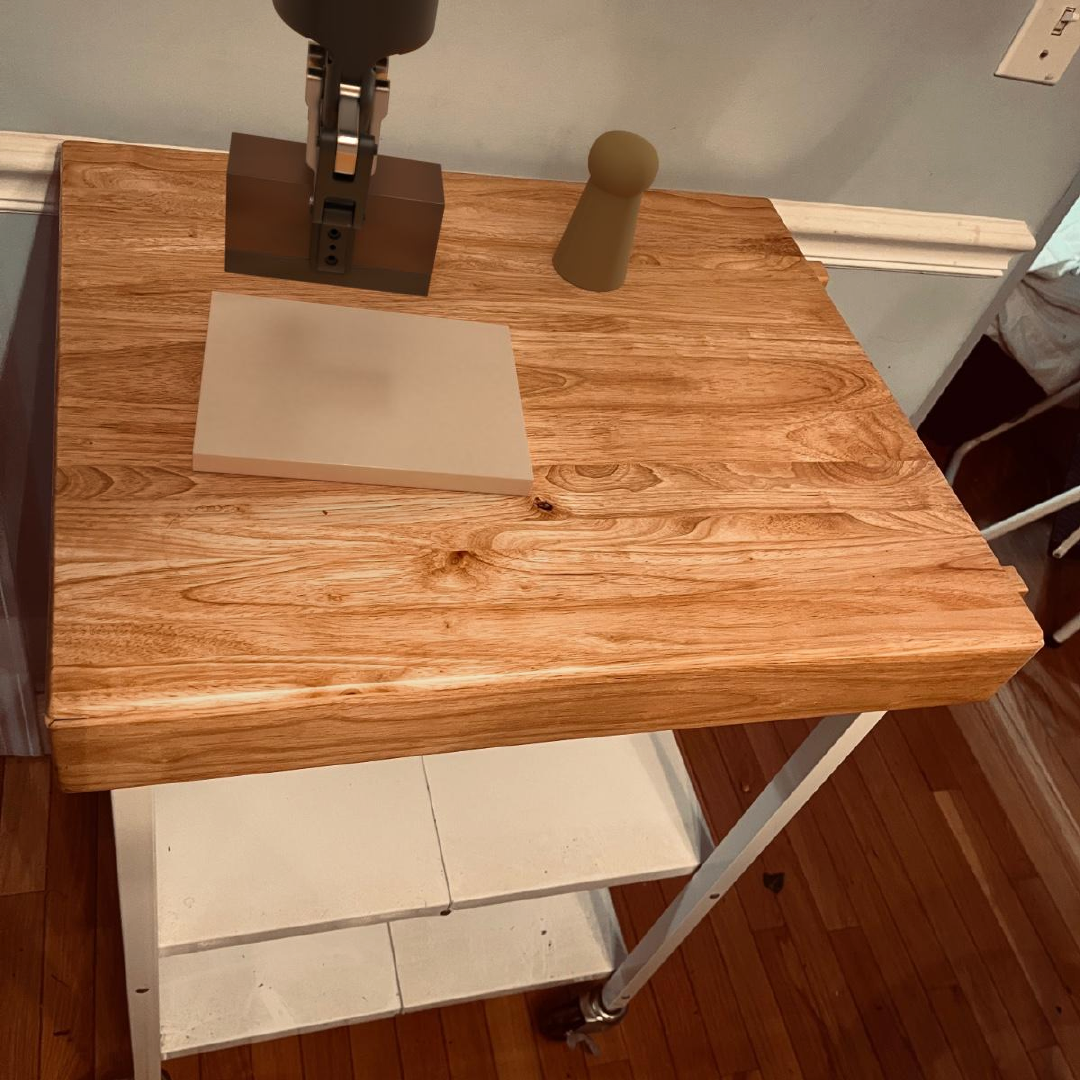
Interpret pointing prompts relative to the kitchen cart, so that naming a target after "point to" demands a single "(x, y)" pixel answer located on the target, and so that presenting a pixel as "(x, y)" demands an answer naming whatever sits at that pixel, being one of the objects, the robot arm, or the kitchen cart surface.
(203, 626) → the kitchen cart surface
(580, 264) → the olive brown pawn
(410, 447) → the tile
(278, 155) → the dark brown block
